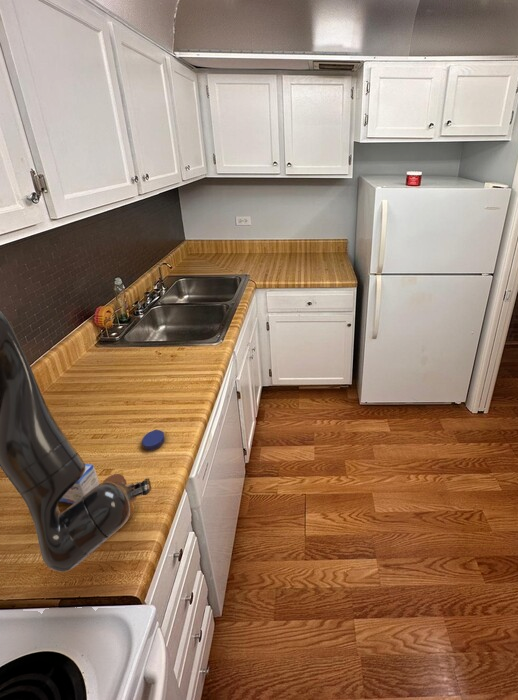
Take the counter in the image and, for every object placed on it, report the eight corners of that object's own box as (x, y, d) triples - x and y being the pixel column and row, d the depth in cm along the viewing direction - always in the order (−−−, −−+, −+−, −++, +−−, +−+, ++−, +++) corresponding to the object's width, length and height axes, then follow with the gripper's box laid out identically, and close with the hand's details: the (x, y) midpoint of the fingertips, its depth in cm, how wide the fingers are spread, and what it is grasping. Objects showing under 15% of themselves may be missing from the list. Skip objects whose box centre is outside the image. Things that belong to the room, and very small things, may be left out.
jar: (114, 531, 72) (103, 499, 69) (106, 516, 75) (94, 484, 72) (138, 513, 76) (128, 482, 72) (129, 499, 79) (119, 468, 75)
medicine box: (58, 502, 78) (47, 476, 75) (73, 484, 82) (63, 459, 79) (87, 506, 77) (78, 481, 74) (102, 488, 81) (93, 463, 78)
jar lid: (138, 447, 92) (137, 443, 92) (152, 432, 98) (151, 428, 97) (155, 452, 91) (154, 448, 90) (169, 436, 96) (168, 432, 95)
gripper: (144, 467, 65) (148, 465, 79) (54, 505, 58) (75, 495, 72) (152, 509, 63) (155, 499, 76) (60, 553, 56) (81, 534, 69)
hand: (116, 497), depth 74 cm, fingers open, 8 cm apart
